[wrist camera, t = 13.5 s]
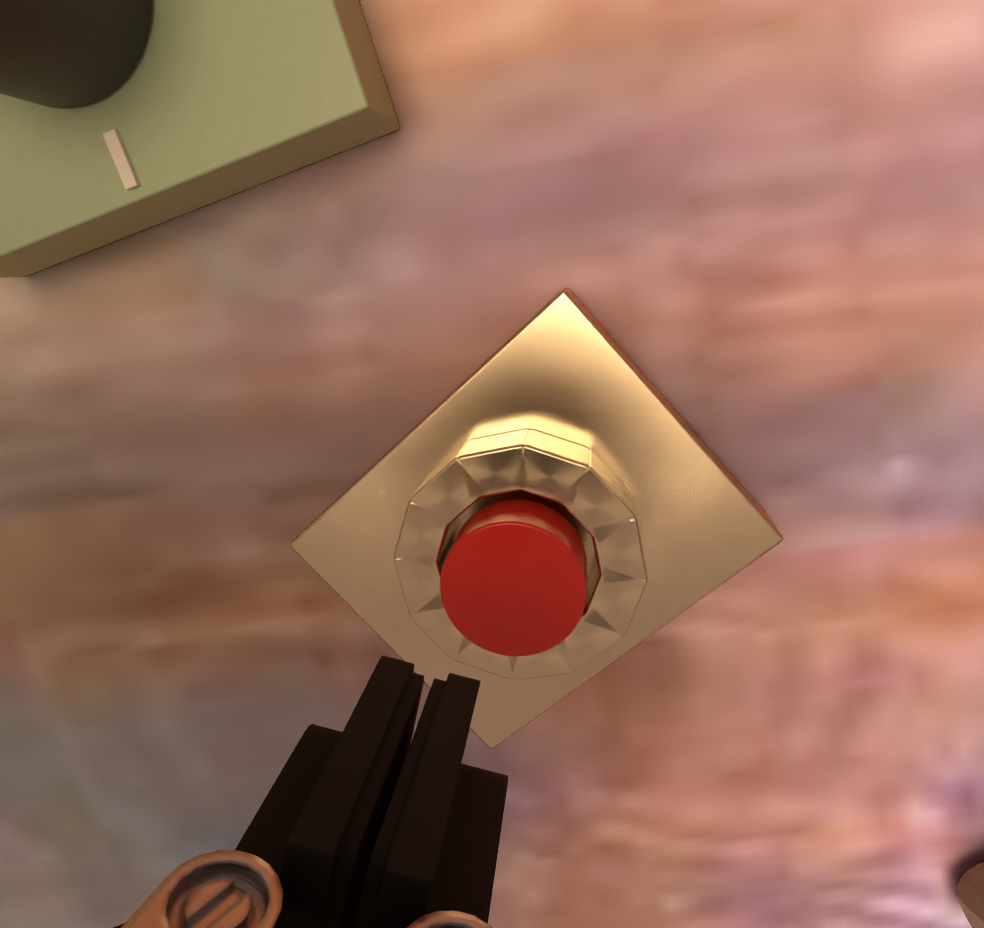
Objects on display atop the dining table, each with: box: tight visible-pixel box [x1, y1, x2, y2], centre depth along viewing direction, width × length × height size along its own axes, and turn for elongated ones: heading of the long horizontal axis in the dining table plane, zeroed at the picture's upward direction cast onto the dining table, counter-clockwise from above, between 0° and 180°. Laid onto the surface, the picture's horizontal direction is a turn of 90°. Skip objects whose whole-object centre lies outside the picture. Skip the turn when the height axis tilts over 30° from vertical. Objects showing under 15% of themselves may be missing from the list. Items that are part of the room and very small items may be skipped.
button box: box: [290, 288, 783, 749], centre depth 21 cm, size 11×9×4 cm
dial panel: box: [0, 0, 399, 277], centre depth 19 cm, size 13×10×3 cm
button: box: [440, 500, 587, 656], centre depth 18 cm, size 4×4×2 cm
